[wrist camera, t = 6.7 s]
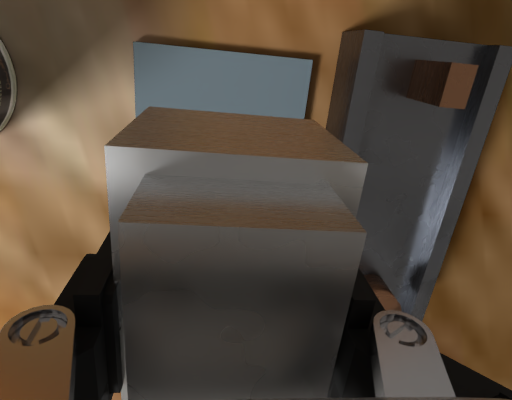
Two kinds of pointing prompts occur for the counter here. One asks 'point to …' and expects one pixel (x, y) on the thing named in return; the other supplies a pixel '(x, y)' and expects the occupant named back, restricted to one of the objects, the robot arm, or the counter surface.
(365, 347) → the robot arm
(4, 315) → the counter surface
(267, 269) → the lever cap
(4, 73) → the coffee can
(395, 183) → the body
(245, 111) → the mat
